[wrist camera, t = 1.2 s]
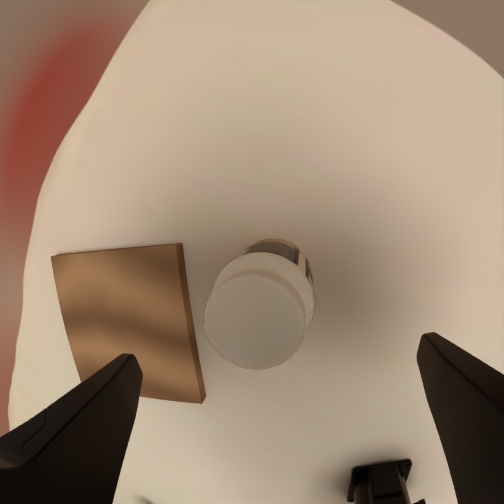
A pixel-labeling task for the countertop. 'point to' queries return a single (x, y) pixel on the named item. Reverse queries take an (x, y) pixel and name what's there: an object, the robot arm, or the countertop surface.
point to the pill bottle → (261, 305)
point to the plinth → (132, 316)
